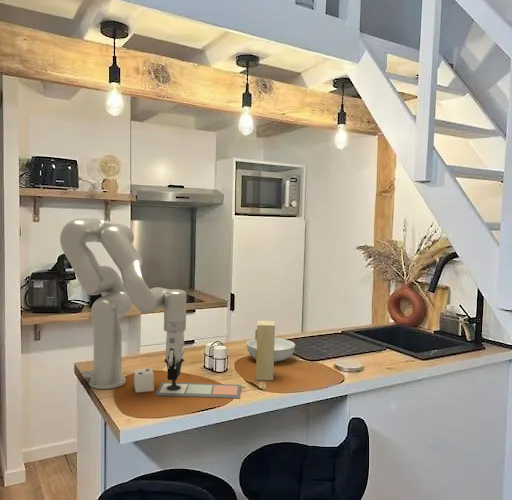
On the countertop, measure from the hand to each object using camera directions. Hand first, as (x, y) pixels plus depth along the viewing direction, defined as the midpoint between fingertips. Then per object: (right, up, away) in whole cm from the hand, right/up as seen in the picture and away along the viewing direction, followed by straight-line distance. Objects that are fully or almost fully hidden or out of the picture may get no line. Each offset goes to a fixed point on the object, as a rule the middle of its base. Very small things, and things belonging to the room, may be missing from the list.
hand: (174, 375), depth 168 cm
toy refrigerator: (+31, -5, +16) cm, 36 cm away
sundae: (0, -5, 0) cm, 5 cm away
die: (-11, -5, +1) cm, 12 cm away
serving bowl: (+35, -3, +39) cm, 52 cm away
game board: (+9, -5, 0) cm, 10 cm away
